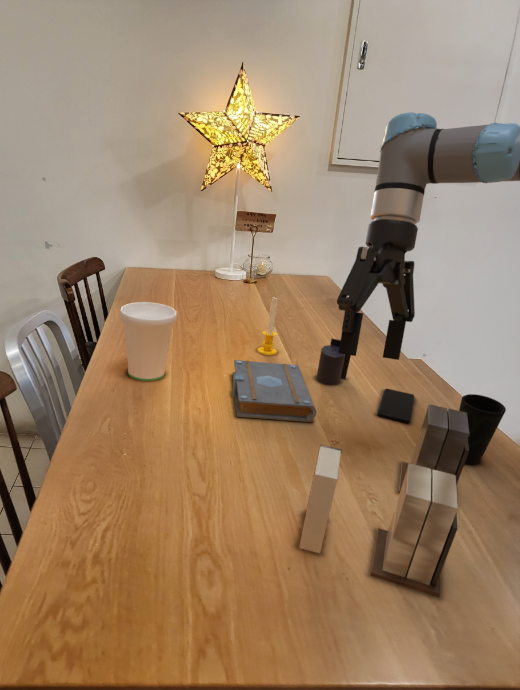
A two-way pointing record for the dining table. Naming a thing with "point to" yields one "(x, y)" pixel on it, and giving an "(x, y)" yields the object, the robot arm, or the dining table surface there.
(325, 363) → the speaker
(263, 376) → the book
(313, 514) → the beige rectangular block
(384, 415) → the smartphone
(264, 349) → the candle
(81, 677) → the dining table surface
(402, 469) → the grey books
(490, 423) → the cup
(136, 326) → the cup
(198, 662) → the dining table surface
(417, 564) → the white books
